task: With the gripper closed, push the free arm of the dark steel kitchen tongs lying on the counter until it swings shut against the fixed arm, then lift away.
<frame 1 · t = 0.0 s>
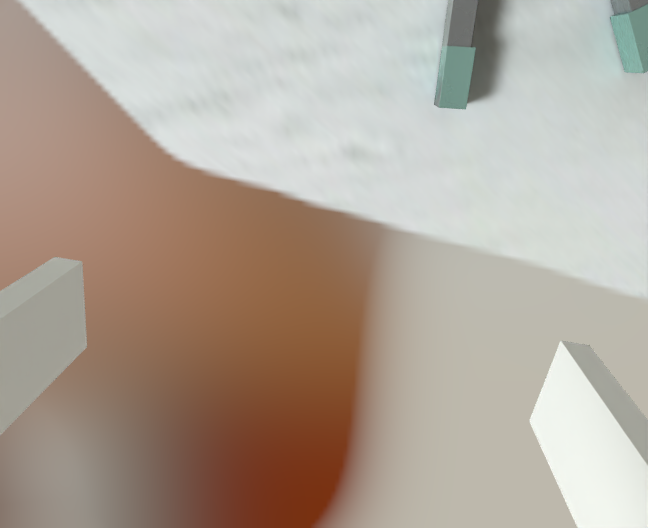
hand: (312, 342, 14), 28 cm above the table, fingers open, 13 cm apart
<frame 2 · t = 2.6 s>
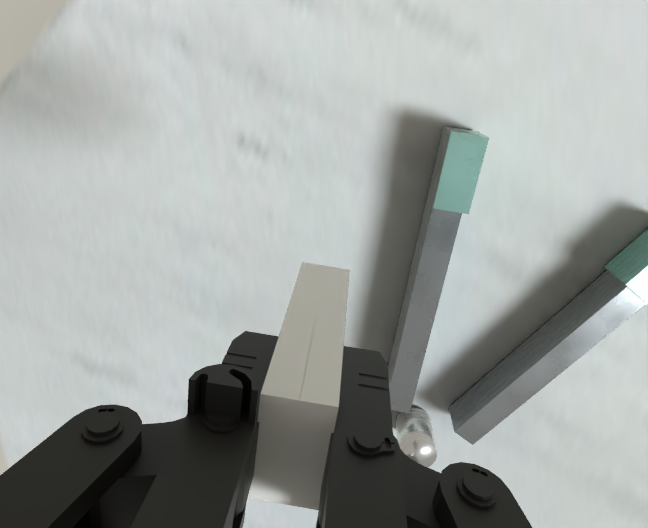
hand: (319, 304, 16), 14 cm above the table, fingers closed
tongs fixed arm: (413, 421, 34), on the table
tongs free arm: (427, 281, 29), point 1 cm above the table, hinge at 30.0°
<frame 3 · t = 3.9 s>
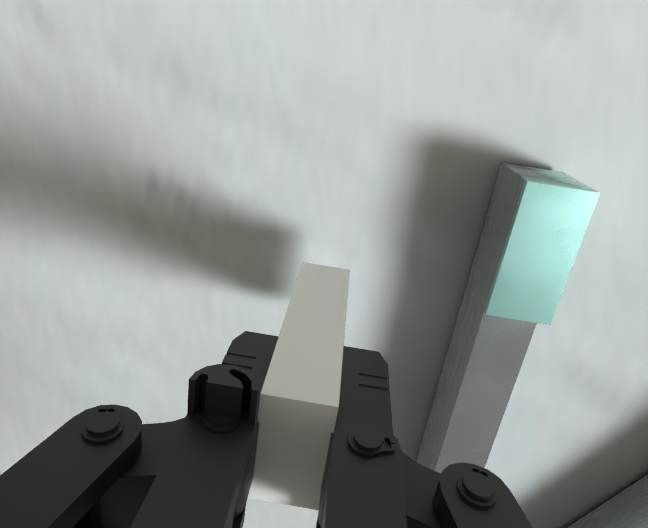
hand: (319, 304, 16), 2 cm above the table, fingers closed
tongs free arm: (467, 417, 17), point 1 cm above the table, hinge at 30.0°
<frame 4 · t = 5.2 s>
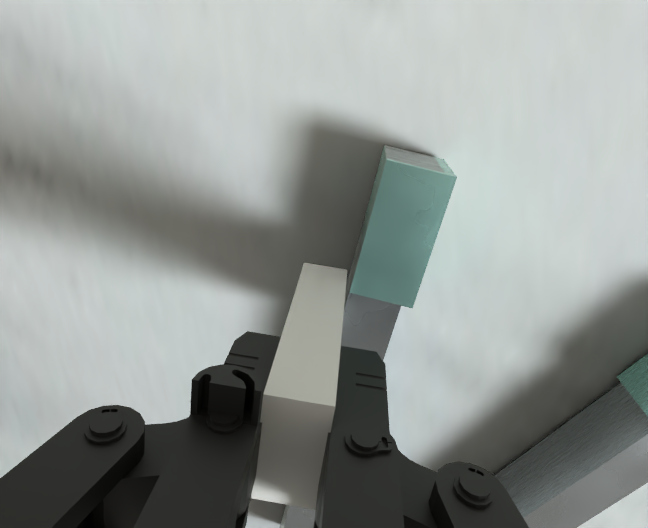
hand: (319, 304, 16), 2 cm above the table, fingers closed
tongs free arm: (344, 399, 17), point 1 cm above the table, hinge at 25.9°, touching gripper
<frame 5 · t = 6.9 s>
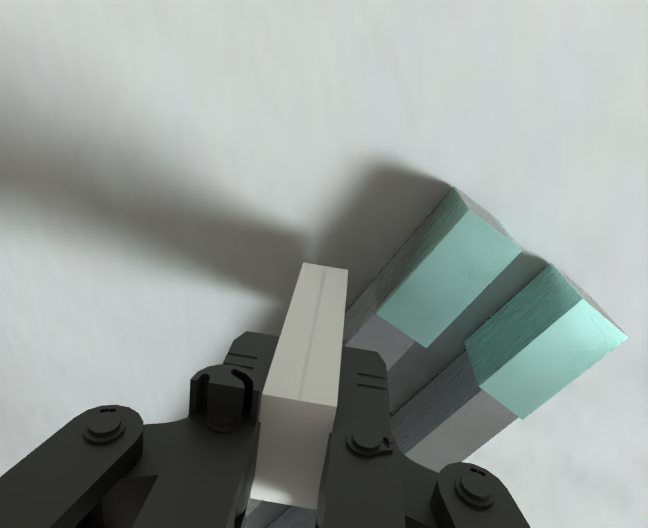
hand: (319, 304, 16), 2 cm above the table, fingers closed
tongs free arm: (314, 402, 18), point 1 cm above the table, hinge at 2.6°, touching gripper
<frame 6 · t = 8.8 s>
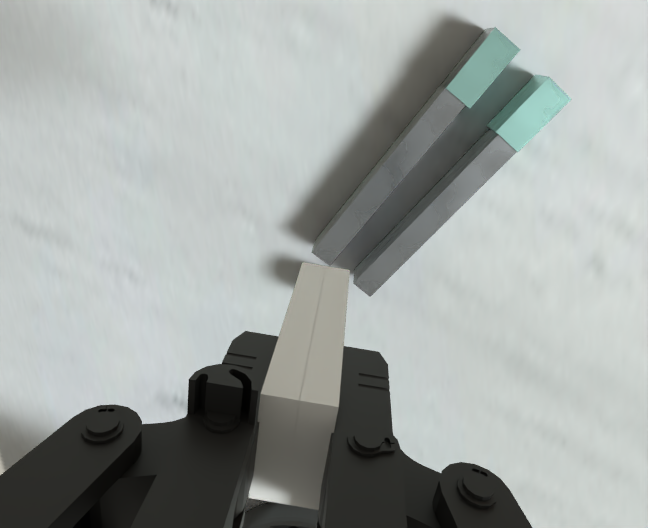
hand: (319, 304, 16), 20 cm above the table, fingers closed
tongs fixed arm: (323, 283, 37), on the table
tongs free arm: (403, 157, 32), point 1 cm above the table, hinge at 2.6°
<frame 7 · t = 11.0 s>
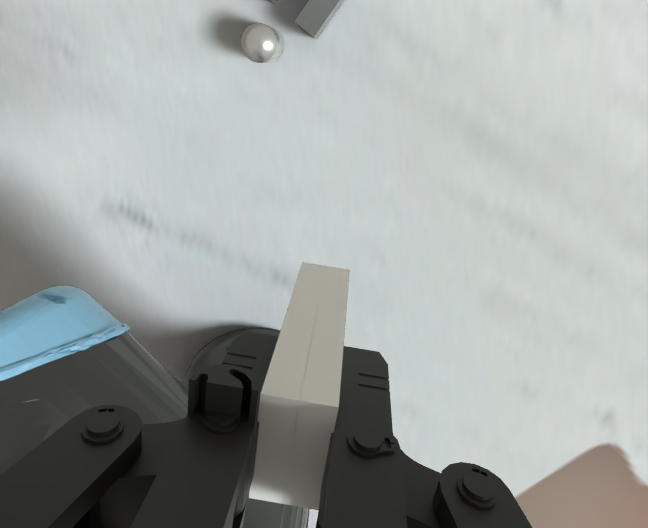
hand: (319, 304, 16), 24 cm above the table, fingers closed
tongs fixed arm: (267, 44, 35), on the table
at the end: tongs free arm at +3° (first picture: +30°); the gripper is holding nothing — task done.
